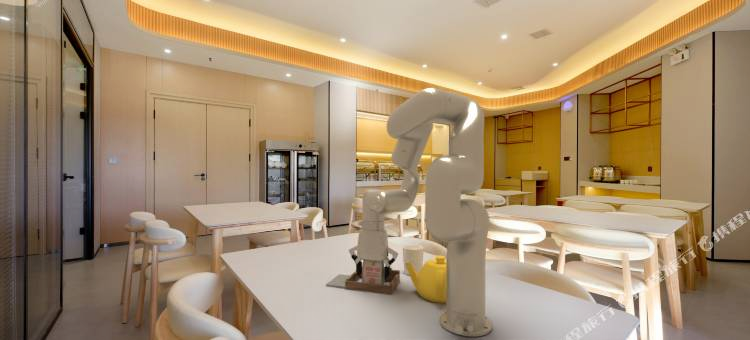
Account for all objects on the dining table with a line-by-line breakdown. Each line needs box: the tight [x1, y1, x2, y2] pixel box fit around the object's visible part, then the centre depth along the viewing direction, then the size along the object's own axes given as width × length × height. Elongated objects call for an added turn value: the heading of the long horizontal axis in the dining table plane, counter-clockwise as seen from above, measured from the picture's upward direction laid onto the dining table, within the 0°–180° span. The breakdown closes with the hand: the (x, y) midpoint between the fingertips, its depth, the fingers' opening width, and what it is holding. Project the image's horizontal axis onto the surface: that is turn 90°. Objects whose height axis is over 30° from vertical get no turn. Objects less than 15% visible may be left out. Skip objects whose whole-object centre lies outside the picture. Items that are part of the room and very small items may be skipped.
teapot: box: [406, 254, 446, 304], centre depth 100 cm, size 17×17×12 cm
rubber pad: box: [325, 273, 352, 289], centre depth 111 cm, size 11×7×1 cm, turn 163°
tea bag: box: [361, 260, 385, 285], centre depth 107 cm, size 4×7×10 cm, turn 72°
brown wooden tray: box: [344, 266, 401, 296], centre depth 107 cm, size 12×16×5 cm
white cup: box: [402, 244, 424, 276], centre depth 120 cm, size 8×8×10 cm
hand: (372, 275), depth 107 cm, fingers open, 9 cm apart
